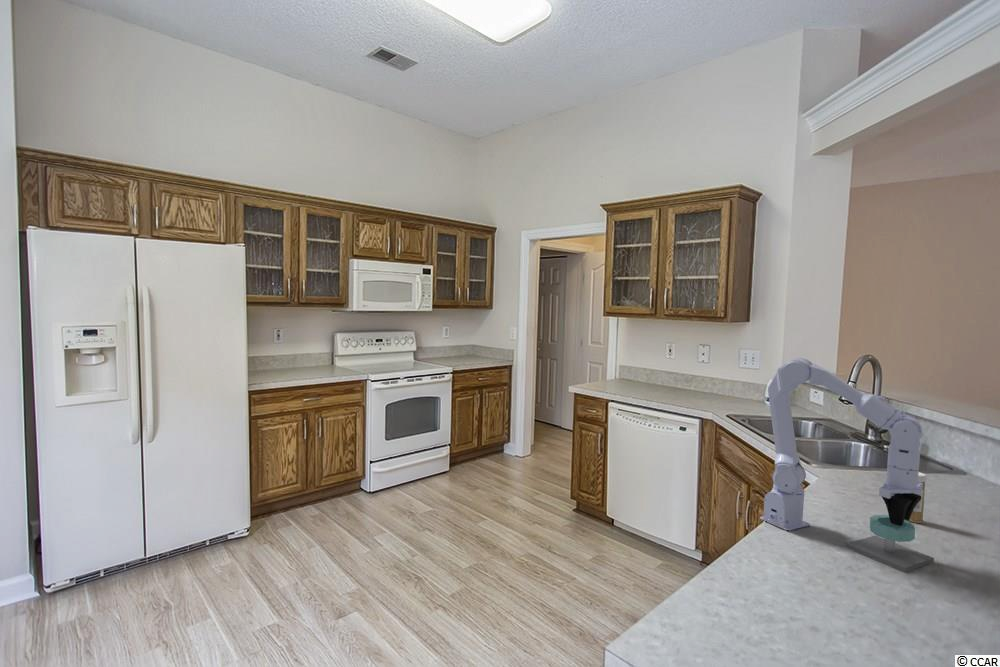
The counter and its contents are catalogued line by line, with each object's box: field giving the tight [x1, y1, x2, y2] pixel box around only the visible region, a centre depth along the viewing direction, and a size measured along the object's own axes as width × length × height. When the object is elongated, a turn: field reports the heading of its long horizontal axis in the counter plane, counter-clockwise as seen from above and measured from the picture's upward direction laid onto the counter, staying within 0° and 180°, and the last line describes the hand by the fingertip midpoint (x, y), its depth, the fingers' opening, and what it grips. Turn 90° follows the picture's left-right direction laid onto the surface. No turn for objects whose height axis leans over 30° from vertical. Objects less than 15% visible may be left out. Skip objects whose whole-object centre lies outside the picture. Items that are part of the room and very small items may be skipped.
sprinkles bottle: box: [909, 471, 927, 524], centre depth 134 cm, size 5×5×14 cm
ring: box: [869, 514, 916, 543], centre depth 113 cm, size 8×8×2 cm
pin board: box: [845, 535, 935, 573], centre depth 113 cm, size 12×12×6 cm
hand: (898, 523), depth 114 cm, fingers closed on ring, 2 cm apart
